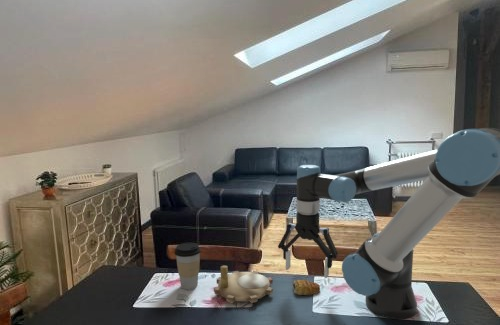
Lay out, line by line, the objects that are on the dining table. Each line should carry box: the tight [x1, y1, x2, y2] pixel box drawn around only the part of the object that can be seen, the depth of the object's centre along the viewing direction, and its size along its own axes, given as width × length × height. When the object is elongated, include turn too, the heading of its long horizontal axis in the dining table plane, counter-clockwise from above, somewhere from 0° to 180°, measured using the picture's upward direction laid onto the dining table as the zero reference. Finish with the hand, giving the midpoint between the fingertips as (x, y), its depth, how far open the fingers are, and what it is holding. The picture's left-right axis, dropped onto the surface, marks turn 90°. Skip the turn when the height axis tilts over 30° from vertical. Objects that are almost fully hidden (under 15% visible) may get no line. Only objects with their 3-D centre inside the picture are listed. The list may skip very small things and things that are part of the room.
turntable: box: [213, 265, 274, 304], centre depth 122 cm, size 21×21×9 cm
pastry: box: [292, 279, 321, 296], centre depth 122 cm, size 9×7×4 cm
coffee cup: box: [173, 242, 202, 291], centre depth 126 cm, size 9×9×15 cm
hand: (306, 272), depth 119 cm, fingers open, 13 cm apart
